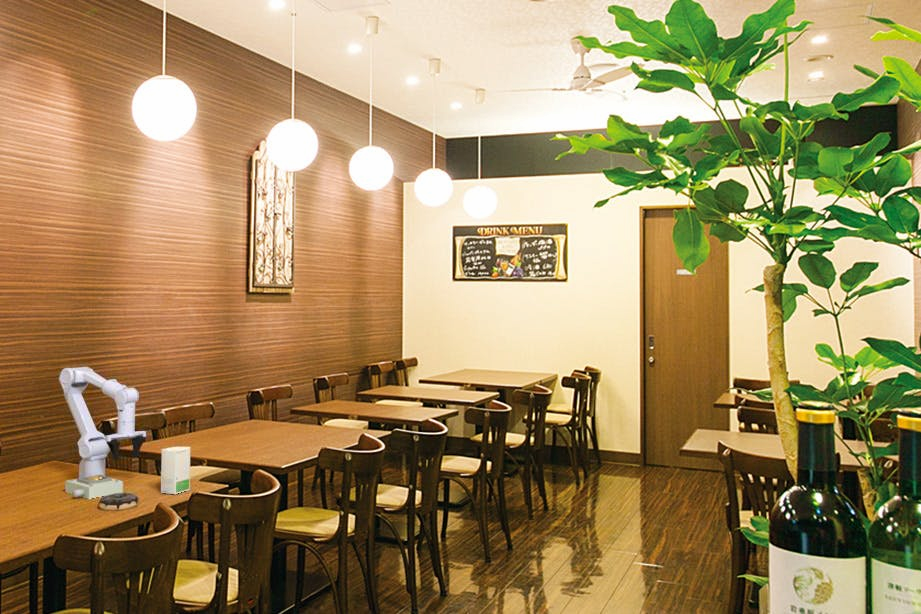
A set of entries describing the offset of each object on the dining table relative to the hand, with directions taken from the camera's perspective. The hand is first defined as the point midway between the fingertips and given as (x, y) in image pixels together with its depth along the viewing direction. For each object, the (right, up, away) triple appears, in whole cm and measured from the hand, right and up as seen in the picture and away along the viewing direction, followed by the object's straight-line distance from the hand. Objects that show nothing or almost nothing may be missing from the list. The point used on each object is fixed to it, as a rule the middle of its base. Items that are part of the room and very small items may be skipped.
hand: (125, 458), depth 268 cm
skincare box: (+21, -10, -8) cm, 25 cm away
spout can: (-5, -9, -11) cm, 15 cm away
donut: (+11, -10, -29) cm, 32 cm away
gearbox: (-7, -10, -12) cm, 17 cm away
